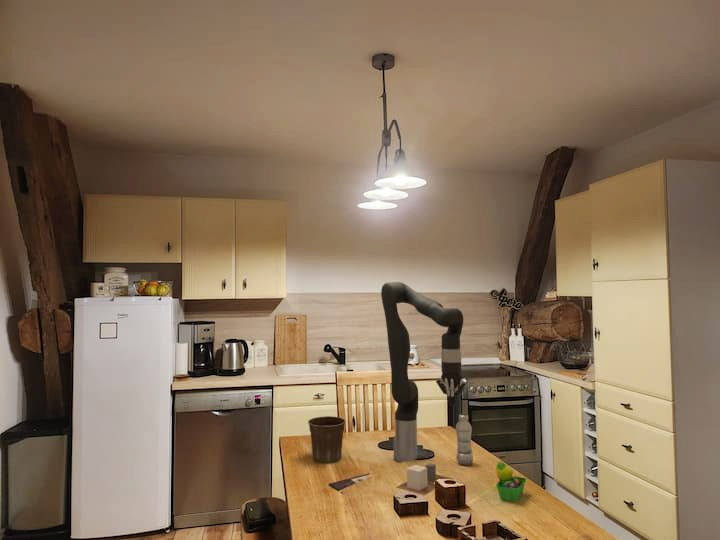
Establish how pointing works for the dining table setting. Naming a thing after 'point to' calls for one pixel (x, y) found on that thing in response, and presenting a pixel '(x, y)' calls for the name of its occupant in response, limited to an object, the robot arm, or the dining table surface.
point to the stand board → (426, 490)
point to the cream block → (417, 477)
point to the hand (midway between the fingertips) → (452, 405)
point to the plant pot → (326, 438)
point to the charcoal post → (431, 472)
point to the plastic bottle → (464, 440)
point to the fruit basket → (509, 483)
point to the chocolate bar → (348, 482)
